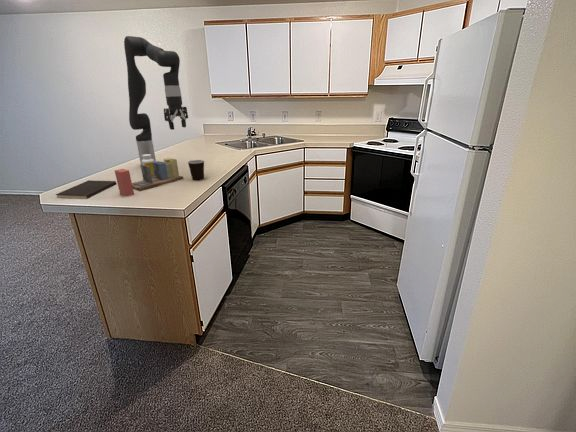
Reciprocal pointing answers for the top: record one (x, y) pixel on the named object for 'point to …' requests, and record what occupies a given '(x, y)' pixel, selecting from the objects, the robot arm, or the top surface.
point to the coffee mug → (197, 169)
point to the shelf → (158, 174)
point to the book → (124, 182)
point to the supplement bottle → (148, 163)
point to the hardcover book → (86, 189)
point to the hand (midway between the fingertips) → (178, 128)
